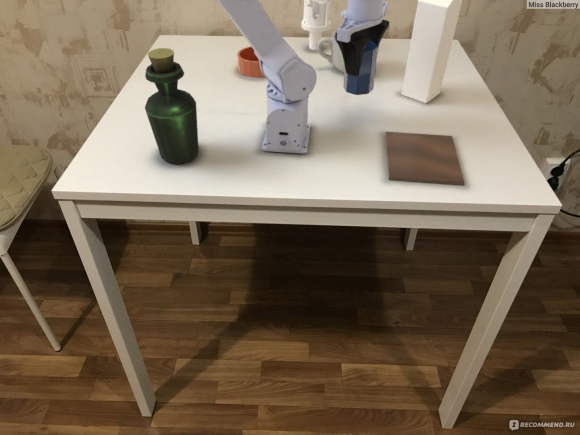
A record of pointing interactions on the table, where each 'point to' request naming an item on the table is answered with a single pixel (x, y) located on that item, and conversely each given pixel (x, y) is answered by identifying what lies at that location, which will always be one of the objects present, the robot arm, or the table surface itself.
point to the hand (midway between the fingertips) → (359, 67)
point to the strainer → (316, 20)
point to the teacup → (333, 52)
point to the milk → (430, 48)
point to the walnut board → (422, 158)
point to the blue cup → (363, 73)
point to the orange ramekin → (249, 63)
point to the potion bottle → (171, 109)
